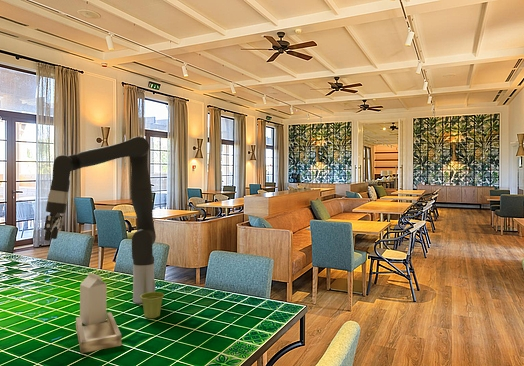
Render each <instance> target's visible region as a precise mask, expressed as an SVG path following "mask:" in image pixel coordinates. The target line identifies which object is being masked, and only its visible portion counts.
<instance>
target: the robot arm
mask: <svg viewBox="0 0 524 366" xmlns="http://www.w3.org/2000/svg"><path fill="white" fill-rule="evenodd" d="M149 150H150V144H149V141H148V140H147V139H146V138H145V137H142V136H133V137H132V138H130V139H127V140H126V141H122V142H120V143H116V144H115V143H114V144H111V145H106V146H102V147H97V148H91V149H87V150H81V151H80V152H78V153H74V154H70V155H66V154H60V155H58V156H56V157H55V159H54V160H53V165H52V179H51V184H50V188H49V192H48V195H47V202H46V206H45V212H46V213H49V215H46V217H45V221H44V225H43V230H44V231H45V232H44V241H47V242H49V241H51V239H52V240H53V239H54V240H57V239H58V234H59V231H60V229H61V228H62V223H63V217H64V216H63V215H62V214H66V211H67V206H68V199H69V191H70V186H71V184H70V183H71V180H70V176H71V172H74V171H76V170H79V169H82V168H88V167H92V166H97V165H100V164H105V163H108V162H110V161H113V160H116V159H117V160H118V159H121V158H126V157H127V158H128V157H129V161H130V166H131V167H130V168H131V169H130V198H131V203H132V208H133V210H134V213H135V215H136V223H137V224H136V226H137V227H136V231H135V232H134V233H133V234H132V238H131V258H132V302H133V303H134V304H143V302H142V299H141V297H140V296H141V295H142V294H144V293H148V292H156V280H155V257H154V255H153V245H154V244H155V242H156V239H157V236H156V231H155V224H154V217H153V215H154V214H153V190H152V183H151V182H152V181H151V177H150V173H149V168H148V155H149V154H148V153H149Z"/></svg>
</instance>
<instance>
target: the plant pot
mask: <svg viewBox="0 0 524 366" xmlns="http://www.w3.org/2000/svg"><path fill="white" fill-rule="evenodd" d="M164 296H165V293H163V292H160V291H155V292H148V293H144V294H142V295H141V296H140V297H141V299H142V302H143V303H142V307H143V315H144V318H146V319H147V318H148V319H157V318H158V317H160V316H161V309H162V303H163V298H164Z"/></svg>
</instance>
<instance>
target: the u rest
mask: <svg viewBox="0 0 524 366" xmlns="http://www.w3.org/2000/svg"><path fill="white" fill-rule="evenodd" d="M75 328H76V329H75V330H76V334H77V340H78V344H79V350H80V354H85V353H90V352H95V351H99V350H103V349H104V350H105V349H111V348H115V347H120V346H122V336H123V335H122V333H121V331H120V329H119V327H118V325H117V322H116V320H115V318H114V315H113V314H112V311H109V312H106V321H105V322H102V323H99V324H94V325H88V326H87V325H83V323H82V322H81V318H80V316H78V317H75Z"/></svg>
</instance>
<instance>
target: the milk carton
mask: <svg viewBox="0 0 524 366" xmlns="http://www.w3.org/2000/svg"><path fill="white" fill-rule="evenodd" d="M107 291H108V290H107V283H106V282H104V281H103V280H102V277H101V276H99V274H95V273H92V272H88V274H87V276H86V277H85V278H84V280H83V281H82V282H81V283H80V284H79V317H80V318H81V322H82V325H84V326H88V325H94V324H100V323H106V322H107V300H108V299H107V297H108V296H107V295H108V293H107Z"/></svg>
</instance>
